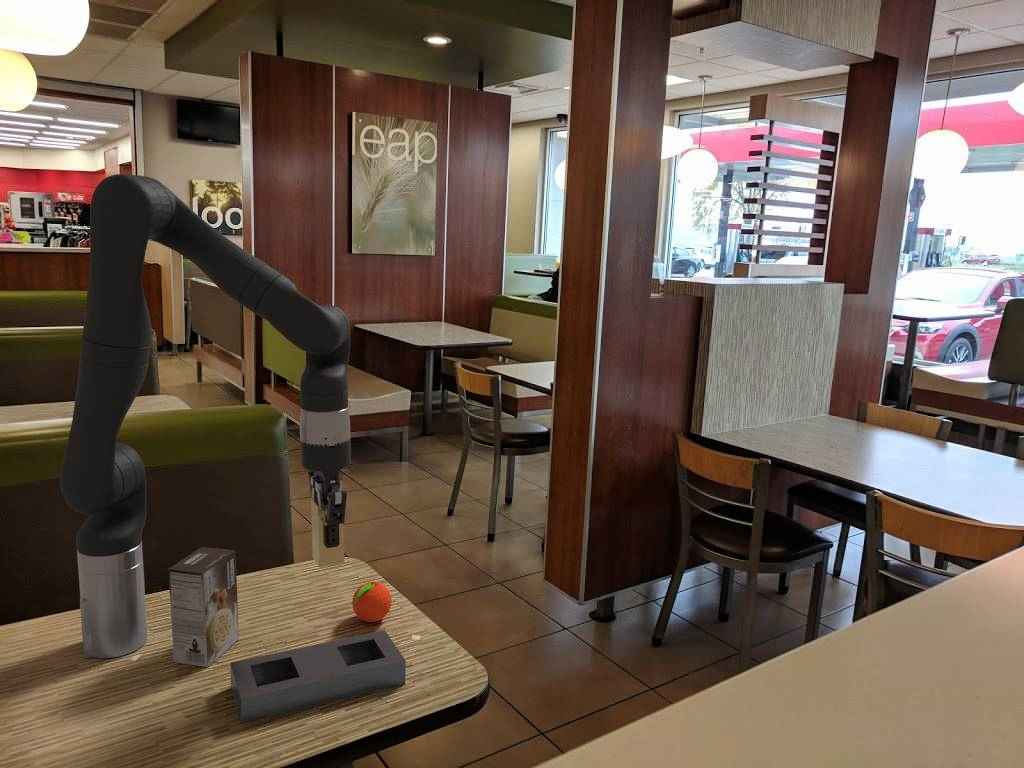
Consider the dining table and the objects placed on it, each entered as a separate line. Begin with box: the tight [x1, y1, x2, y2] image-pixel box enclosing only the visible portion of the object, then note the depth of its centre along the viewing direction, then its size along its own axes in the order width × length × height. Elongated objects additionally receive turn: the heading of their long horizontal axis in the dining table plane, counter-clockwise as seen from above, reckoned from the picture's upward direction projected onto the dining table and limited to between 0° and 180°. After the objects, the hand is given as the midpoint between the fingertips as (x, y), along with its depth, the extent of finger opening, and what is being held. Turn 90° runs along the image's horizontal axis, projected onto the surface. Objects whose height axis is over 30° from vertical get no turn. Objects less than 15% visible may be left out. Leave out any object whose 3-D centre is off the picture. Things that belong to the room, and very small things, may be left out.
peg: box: [310, 497, 345, 568], centre depth 121 cm, size 4×4×10 cm
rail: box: [229, 629, 407, 725], centre depth 117 cm, size 24×10×4 cm, turn 118°
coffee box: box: [167, 546, 240, 668], centre depth 124 cm, size 9×6×16 cm
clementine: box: [351, 581, 393, 623], centre depth 136 cm, size 8×7×7 cm
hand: (328, 540), depth 122 cm, fingers closed on peg, 4 cm apart
